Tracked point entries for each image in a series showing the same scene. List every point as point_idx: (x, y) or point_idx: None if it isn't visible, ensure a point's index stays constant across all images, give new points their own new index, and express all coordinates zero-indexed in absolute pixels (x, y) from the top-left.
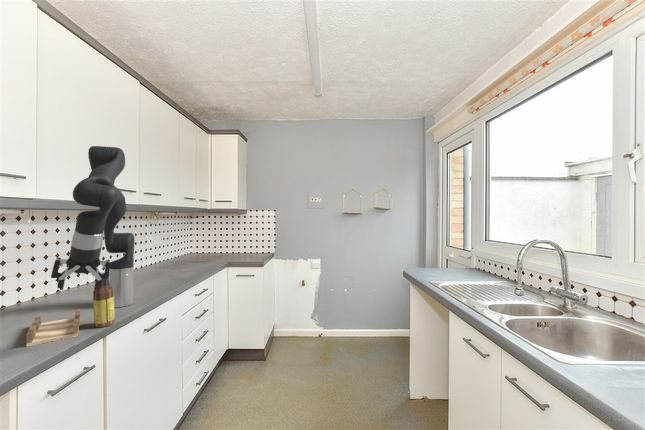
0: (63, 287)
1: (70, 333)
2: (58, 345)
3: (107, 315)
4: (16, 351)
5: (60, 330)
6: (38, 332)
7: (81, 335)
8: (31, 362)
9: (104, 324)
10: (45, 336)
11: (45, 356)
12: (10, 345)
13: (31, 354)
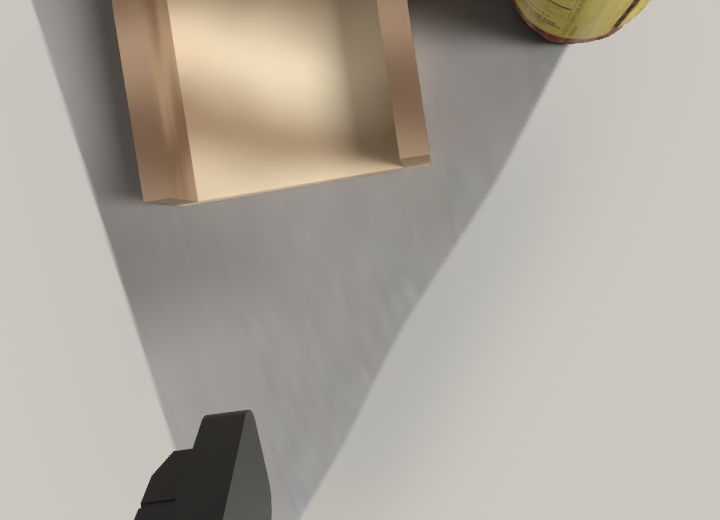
0: (254, 422)
1: (382, 136)
2: (350, 280)
3: (632, 8)
4: (157, 258)
5: (302, 30)
6: (177, 5)
7: (449, 155)
8: (280, 477)
9: (587, 39)
10: (242, 119)
11: (325, 429)
12: (94, 133)
13: (246, 353)
